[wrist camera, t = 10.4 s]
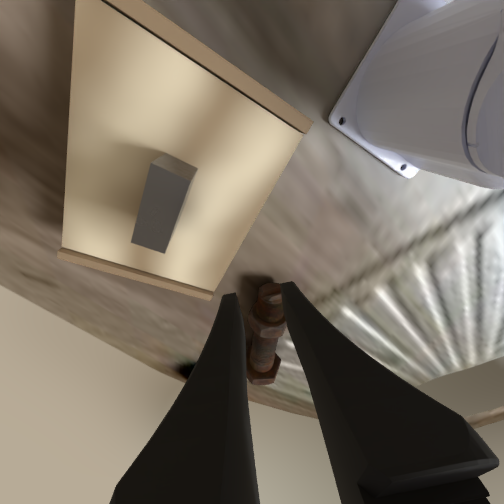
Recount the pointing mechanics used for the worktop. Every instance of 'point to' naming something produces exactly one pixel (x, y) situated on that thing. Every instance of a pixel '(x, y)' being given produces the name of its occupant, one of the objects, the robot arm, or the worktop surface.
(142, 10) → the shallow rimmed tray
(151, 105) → the lid
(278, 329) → the bolt
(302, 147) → the worktop surface
